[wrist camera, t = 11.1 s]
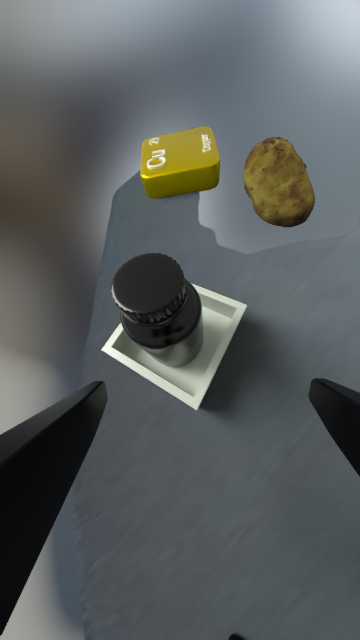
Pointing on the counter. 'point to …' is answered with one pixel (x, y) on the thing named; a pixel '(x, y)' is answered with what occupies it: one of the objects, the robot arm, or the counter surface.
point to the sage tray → (198, 373)
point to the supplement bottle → (159, 308)
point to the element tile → (180, 163)
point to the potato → (278, 183)
